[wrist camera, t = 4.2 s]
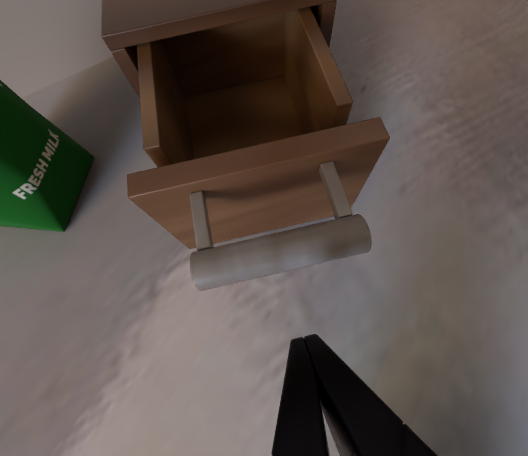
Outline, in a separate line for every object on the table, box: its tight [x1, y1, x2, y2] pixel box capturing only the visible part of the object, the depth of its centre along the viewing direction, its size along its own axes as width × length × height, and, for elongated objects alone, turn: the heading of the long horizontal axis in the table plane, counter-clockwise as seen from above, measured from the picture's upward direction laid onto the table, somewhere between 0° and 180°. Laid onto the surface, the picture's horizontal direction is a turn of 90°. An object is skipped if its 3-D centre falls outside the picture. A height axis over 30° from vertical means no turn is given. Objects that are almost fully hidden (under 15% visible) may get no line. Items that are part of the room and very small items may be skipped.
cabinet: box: [101, 0, 336, 98], centre depth 21 cm, size 15×13×10 cm
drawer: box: [127, 7, 390, 291], centre depth 16 cm, size 18×11×8 cm, turn 12°
